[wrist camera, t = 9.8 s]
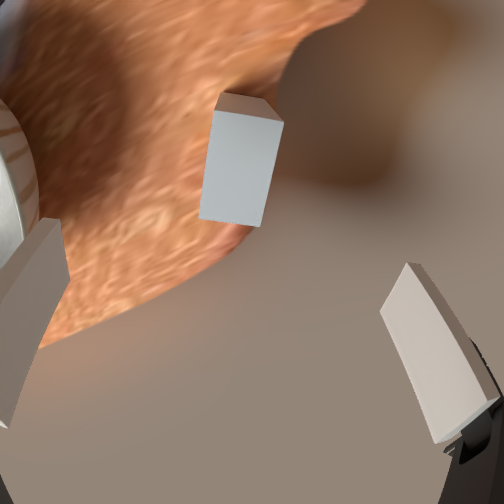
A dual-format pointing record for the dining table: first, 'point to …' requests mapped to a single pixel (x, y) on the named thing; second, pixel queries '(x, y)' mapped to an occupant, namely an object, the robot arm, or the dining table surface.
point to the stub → (240, 159)
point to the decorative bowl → (15, 186)
